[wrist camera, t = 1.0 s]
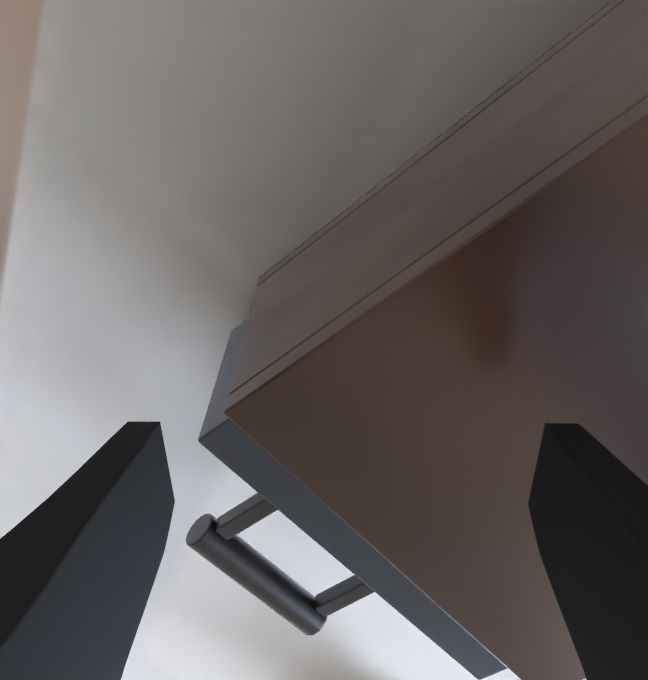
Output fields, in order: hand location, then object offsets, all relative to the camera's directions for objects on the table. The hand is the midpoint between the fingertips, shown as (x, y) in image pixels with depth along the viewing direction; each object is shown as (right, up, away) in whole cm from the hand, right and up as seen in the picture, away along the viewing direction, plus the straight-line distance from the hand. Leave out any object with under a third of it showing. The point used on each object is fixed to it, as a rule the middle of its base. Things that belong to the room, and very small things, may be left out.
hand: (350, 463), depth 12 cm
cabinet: (+7, +3, +9) cm, 12 cm away
